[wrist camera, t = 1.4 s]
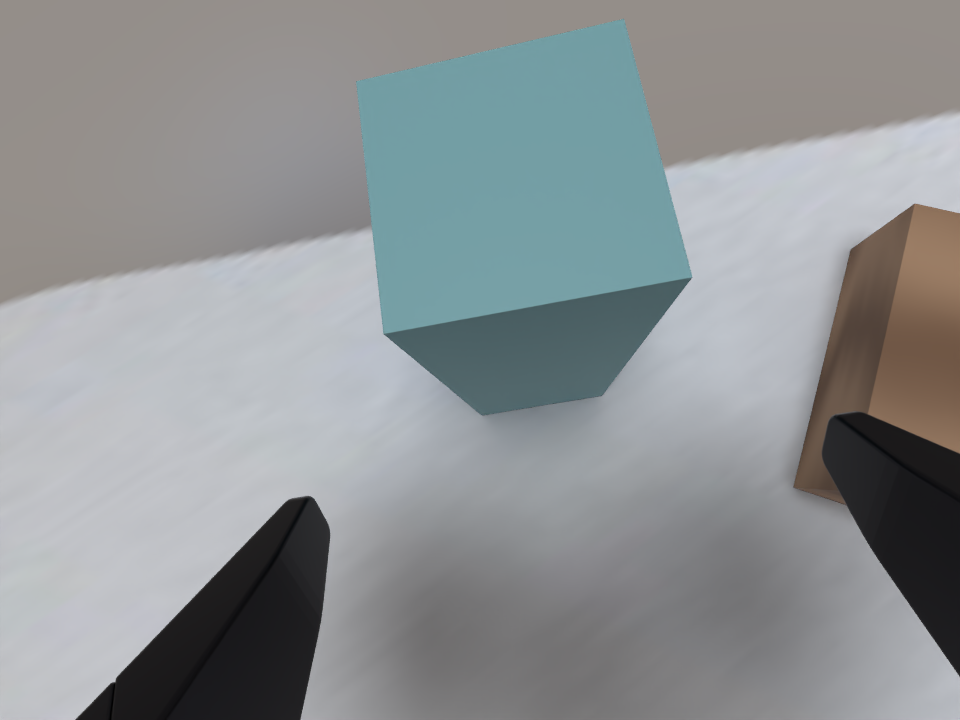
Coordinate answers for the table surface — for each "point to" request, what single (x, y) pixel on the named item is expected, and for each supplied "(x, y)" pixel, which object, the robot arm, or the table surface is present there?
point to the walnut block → (893, 339)
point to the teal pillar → (521, 217)
